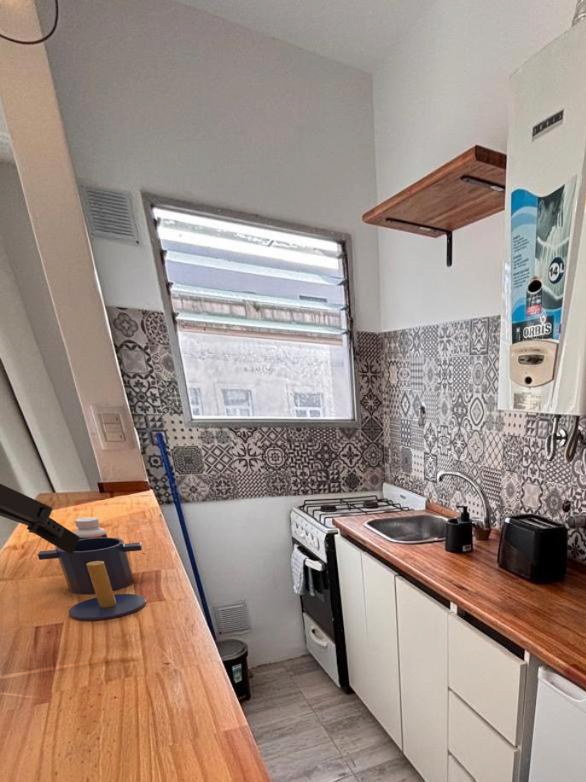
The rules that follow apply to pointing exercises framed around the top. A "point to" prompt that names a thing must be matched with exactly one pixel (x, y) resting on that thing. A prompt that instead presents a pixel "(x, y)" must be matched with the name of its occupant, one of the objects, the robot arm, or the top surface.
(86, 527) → the pill bottle
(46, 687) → the top surface
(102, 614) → the lid
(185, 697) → the top surface
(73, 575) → the pot
